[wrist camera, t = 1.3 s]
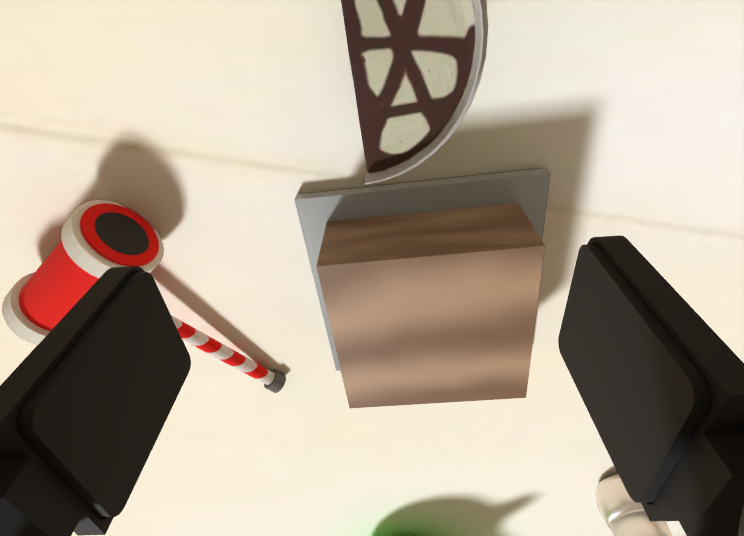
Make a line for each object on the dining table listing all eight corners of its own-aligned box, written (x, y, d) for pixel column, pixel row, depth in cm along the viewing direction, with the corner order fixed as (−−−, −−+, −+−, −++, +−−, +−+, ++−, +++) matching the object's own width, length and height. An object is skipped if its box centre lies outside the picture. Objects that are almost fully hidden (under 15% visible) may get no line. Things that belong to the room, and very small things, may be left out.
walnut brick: (326, 221, 31) (316, 266, 27) (518, 202, 30) (544, 245, 25) (353, 354, 39) (349, 408, 34) (507, 343, 38) (525, 397, 33)
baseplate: (296, 194, 31) (294, 199, 31) (545, 167, 30) (550, 173, 29) (337, 362, 41) (336, 370, 41) (524, 349, 40) (528, 357, 39)
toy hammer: (322, 349, 41) (313, 403, 36) (246, 400, 46) (229, 454, 40) (105, 184, 32) (50, 224, 26) (37, 268, 36) (-22, 317, 31)
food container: (462, 121, 28) (495, 179, 20) (371, 133, 29) (366, 195, 20) (457, -126, 21) (504, -193, 13) (337, -103, 22) (310, -154, 14)
